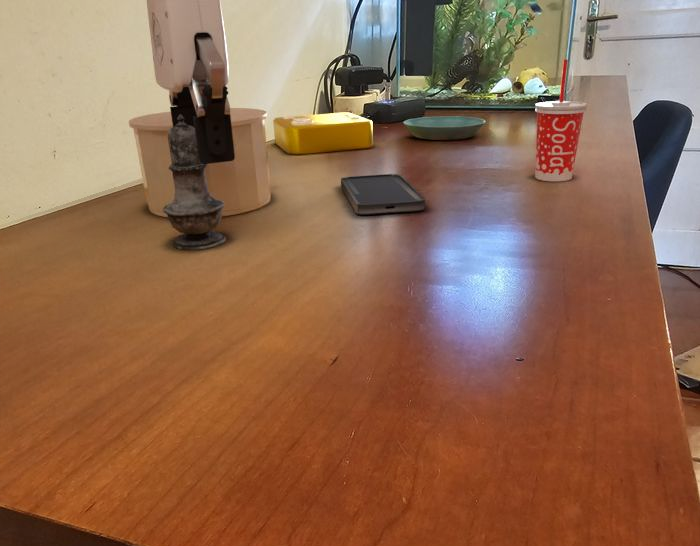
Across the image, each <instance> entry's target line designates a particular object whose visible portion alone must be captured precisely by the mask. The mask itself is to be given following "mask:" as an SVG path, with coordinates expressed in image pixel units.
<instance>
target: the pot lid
mask: <svg viewBox="0 0 700 546" xmlns="http://www.w3.org/2000/svg"><path fill="white" fill-rule="evenodd" d="M200 94H201V97H202V100H203V93H200ZM230 116H231V125H232V126H238V125H245V124H250V123H255V122H258V121H262V120H264V121H265V120H266V119H267V118H268V112H267V111H266V110H263V109H260V108H259V109H258V108H250V107H249V108H248V107H243V108H242V107H230ZM128 126H129V128H131V129H133V128H134V129H139V130H151V131H169V130H170V129H171V128H172V127H173V124H172V117H171V111H165V112H164V111H163V112H157V113H151V114H145V115H141V116H136V117H133V118H131V119H129V120H128ZM134 129H133V130H134Z"/></svg>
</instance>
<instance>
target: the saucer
mask: <svg viewBox="0 0 700 546" xmlns="http://www.w3.org/2000/svg"><path fill="white" fill-rule="evenodd" d="M485 124H486V120H485V119H483V118H480V117H473V116H462V115H461V116H458V115H450V116H449V115H439V116H437V115H436V116H423V117H422V116H421V117H415V118H409V119H406V120H404V121H403V125H404V127H405V128H406V130H407V131H408V132H409V133H410V134H411V135H412V136H414V137H415V138H418V139H421V140H430V141H455V140H465V139H469V138H472V137H474V136H475V135H476V134H477V133H478V132H479V131H480V130H481V129H482V128H483V127H484V125H485Z"/></svg>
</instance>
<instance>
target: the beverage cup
mask: <svg viewBox="0 0 700 546" xmlns="http://www.w3.org/2000/svg"><path fill="white" fill-rule="evenodd" d="M568 60H569V59H566V58H565V59H563V64H562V72H561V80H560V81H561V82H560V91H559V99H558V100H555V101H554V100H553V101H545V102H544V101H543V102H537V103H535V112H536V115H537V116H536V140H535V141H536V143H535V171H534V172H535V174H534V178H535V179H536V180H540V181H543V182H544V181H545V182H566V181H569V180H572V178H573V173H574V167H575V162H576V157H577V151H578V147H579V141H580V134H581V130H582V129H581V128H582V125H583V117H584V113H585V112H586V111H587V107H588V103H586V102H582V101H573V100H572V101H570V100H565V99H564V98H565V89H566V81H567V69H568Z"/></svg>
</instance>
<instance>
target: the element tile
mask: <svg viewBox="0 0 700 546" xmlns="http://www.w3.org/2000/svg"><path fill="white" fill-rule="evenodd" d="M272 122H273V135H274V143H275V145H276V146H278V147H280V149H281V150H282V151H284V152H285V153H286V154H288V155H293V156H294V155H296V156H297V155H310V154H321V153H322V154H323V153H331V152H332V153H333V152H343V151H353V150H364V149H370V148H372V147H373V145H374V136H373V133H374V132H373V121H372V120H371V119H368V118H365V117H362V116H360V115H358V114H354V113H352V112H333V113H320V114H307V115H295V116H293V115H292V116H291V115H289V116H282V117H280V116H279V117H275V118H274V119H273V121H272Z"/></svg>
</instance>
